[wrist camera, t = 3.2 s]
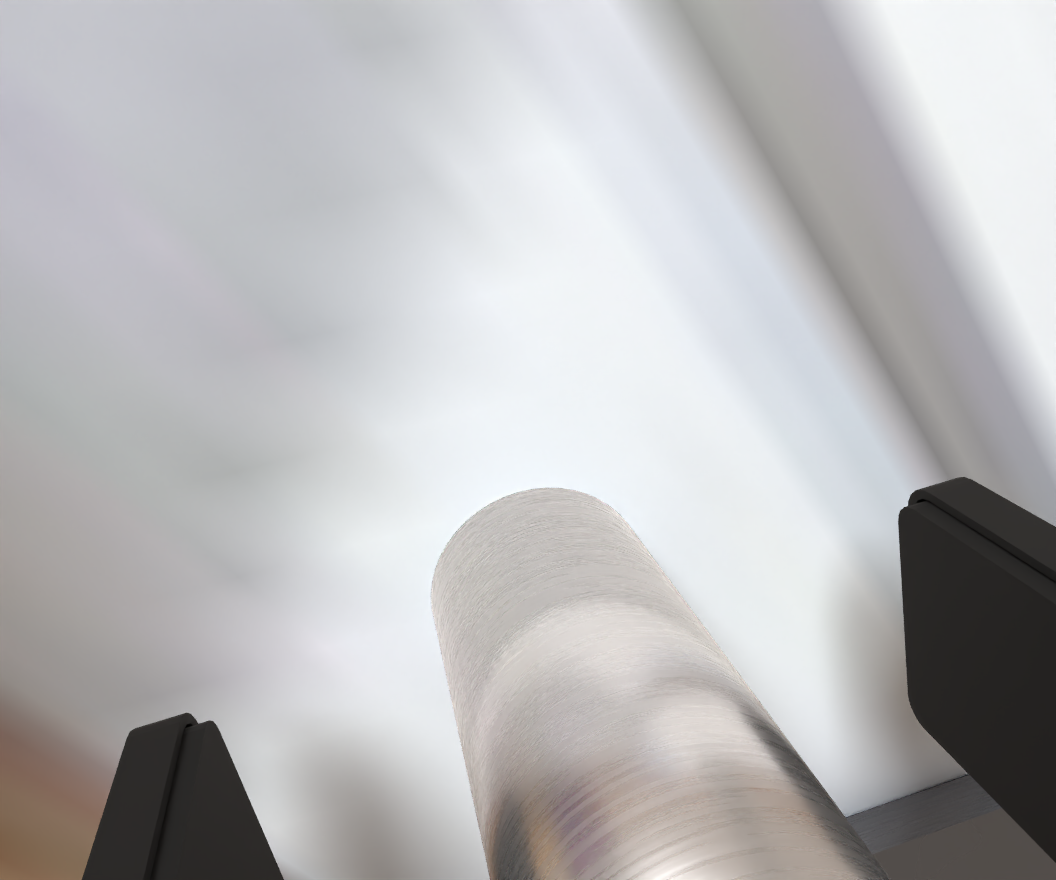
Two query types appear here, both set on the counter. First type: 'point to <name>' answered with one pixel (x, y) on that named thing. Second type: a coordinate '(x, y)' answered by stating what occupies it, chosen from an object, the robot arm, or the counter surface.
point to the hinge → (951, 837)
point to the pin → (614, 714)
